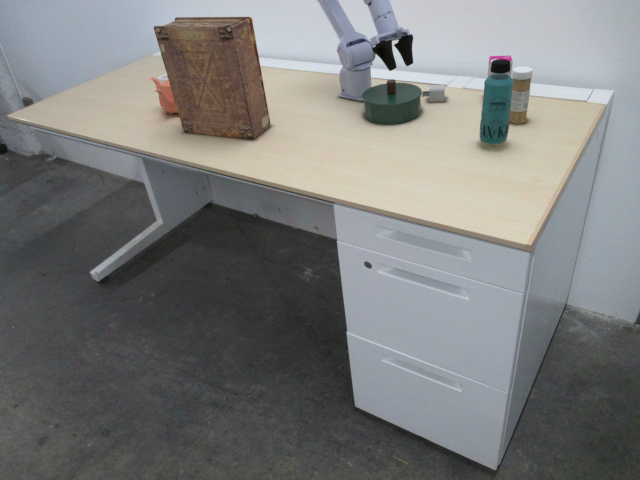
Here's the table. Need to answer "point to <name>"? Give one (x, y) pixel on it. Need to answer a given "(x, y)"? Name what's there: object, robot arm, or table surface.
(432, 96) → the usb wall charger
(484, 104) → the beverage bottle
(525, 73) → the sprinkles bottle
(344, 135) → the table surface
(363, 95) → the lid
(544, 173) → the table surface
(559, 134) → the table surface
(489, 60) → the supplement box
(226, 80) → the book
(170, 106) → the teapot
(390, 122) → the pot
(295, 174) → the table surface
